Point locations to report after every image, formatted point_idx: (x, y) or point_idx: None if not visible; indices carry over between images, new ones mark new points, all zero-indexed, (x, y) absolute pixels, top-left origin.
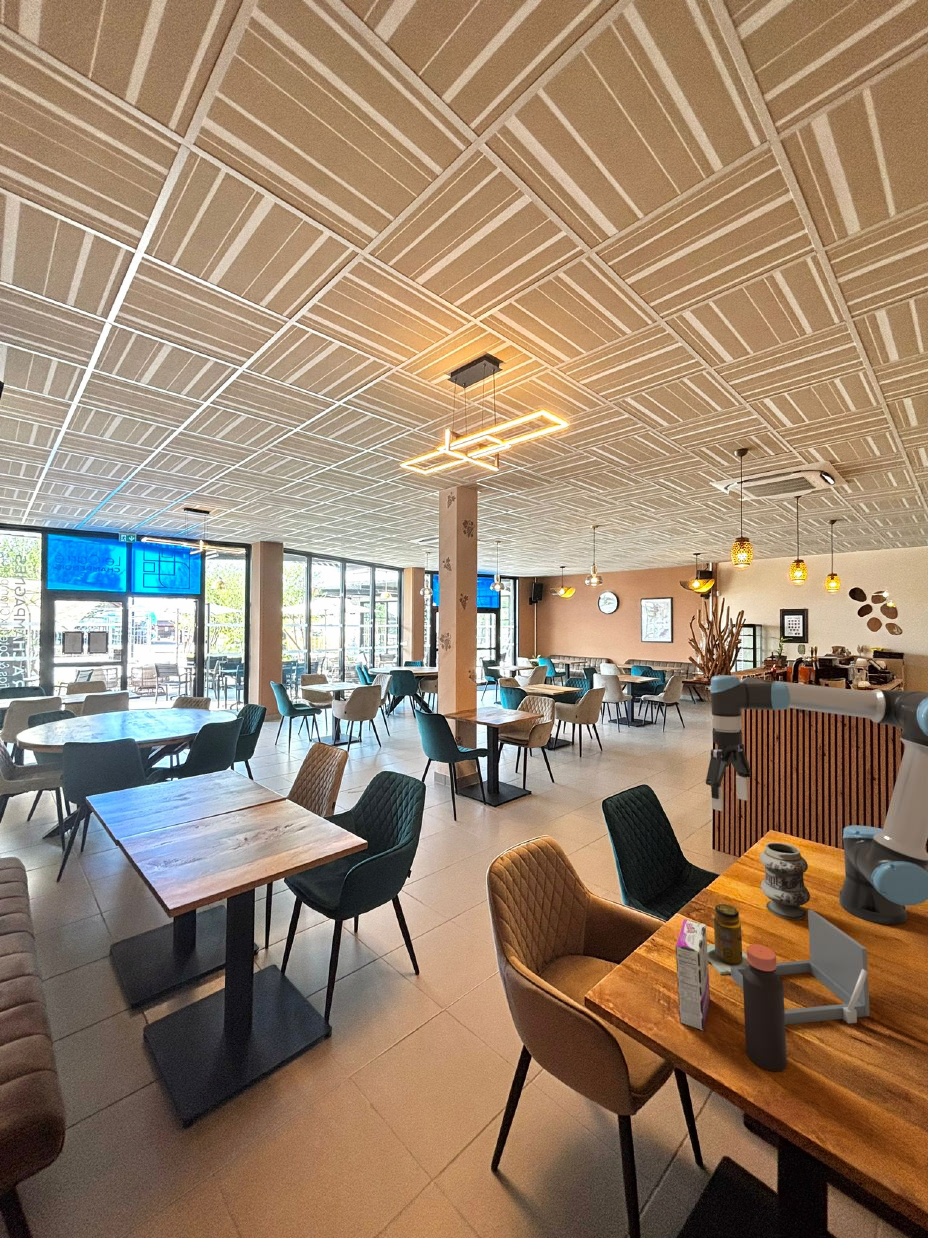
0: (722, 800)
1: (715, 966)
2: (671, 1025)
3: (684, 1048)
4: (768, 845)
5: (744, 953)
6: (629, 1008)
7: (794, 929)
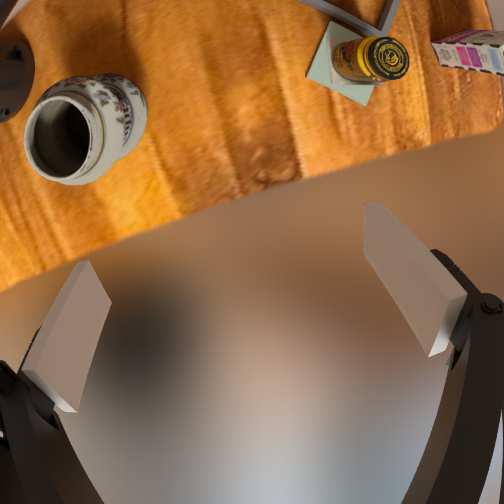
0: (397, 234)
1: None
2: None
3: None
4: (70, 174)
5: (318, 52)
6: (491, 97)
7: (159, 62)
